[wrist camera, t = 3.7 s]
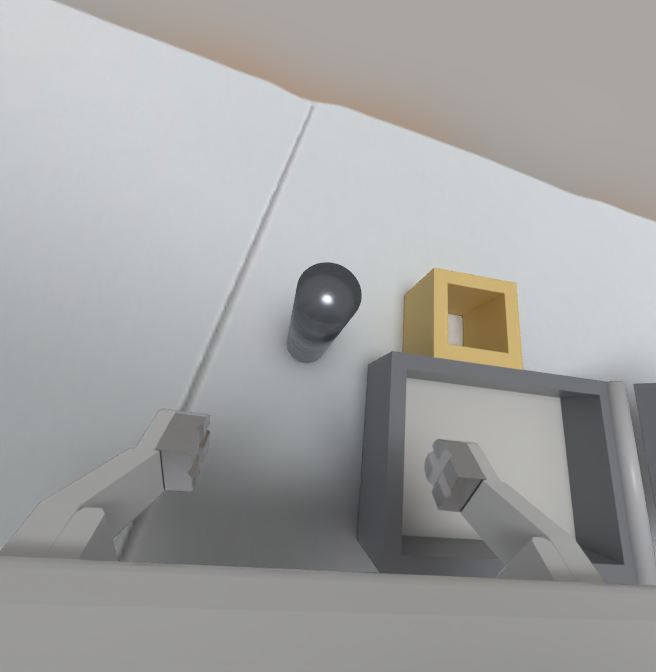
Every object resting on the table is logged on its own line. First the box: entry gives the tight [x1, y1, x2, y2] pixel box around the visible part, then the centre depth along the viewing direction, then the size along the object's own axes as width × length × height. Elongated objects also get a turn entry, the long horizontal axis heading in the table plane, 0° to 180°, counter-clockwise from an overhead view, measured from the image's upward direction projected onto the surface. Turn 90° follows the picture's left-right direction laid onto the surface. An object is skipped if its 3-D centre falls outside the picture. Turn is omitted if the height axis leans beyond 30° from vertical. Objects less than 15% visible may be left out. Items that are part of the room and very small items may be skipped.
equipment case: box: [357, 351, 656, 586], centre depth 21 cm, size 17×12×6 cm
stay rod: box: [287, 263, 361, 363], centre depth 19 cm, size 3×3×10 cm
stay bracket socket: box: [403, 268, 523, 370], centre depth 23 cm, size 6×6×5 cm
